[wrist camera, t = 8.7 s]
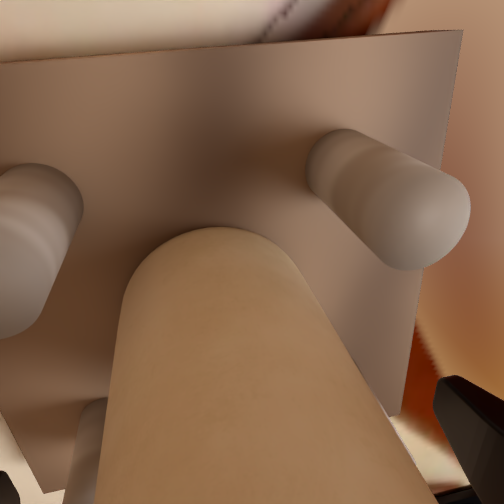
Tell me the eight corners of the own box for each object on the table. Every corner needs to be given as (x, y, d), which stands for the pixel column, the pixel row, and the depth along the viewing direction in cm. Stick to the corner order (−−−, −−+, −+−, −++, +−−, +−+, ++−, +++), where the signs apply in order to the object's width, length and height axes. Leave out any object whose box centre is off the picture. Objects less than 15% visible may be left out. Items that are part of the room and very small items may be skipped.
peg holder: (428, 30, 11) (621, 26, 7) (382, 387, 18) (461, 512, 13) (-128, 71, 9) (-424, 108, 5) (53, 456, 16) (8, 634, 11)
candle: (148, 200, 10) (99, 983, 2) (330, 249, 12) (735, 756, 4) (103, 361, 13) (-17, 1081, 4) (264, 382, 14) (424, 905, 6)
